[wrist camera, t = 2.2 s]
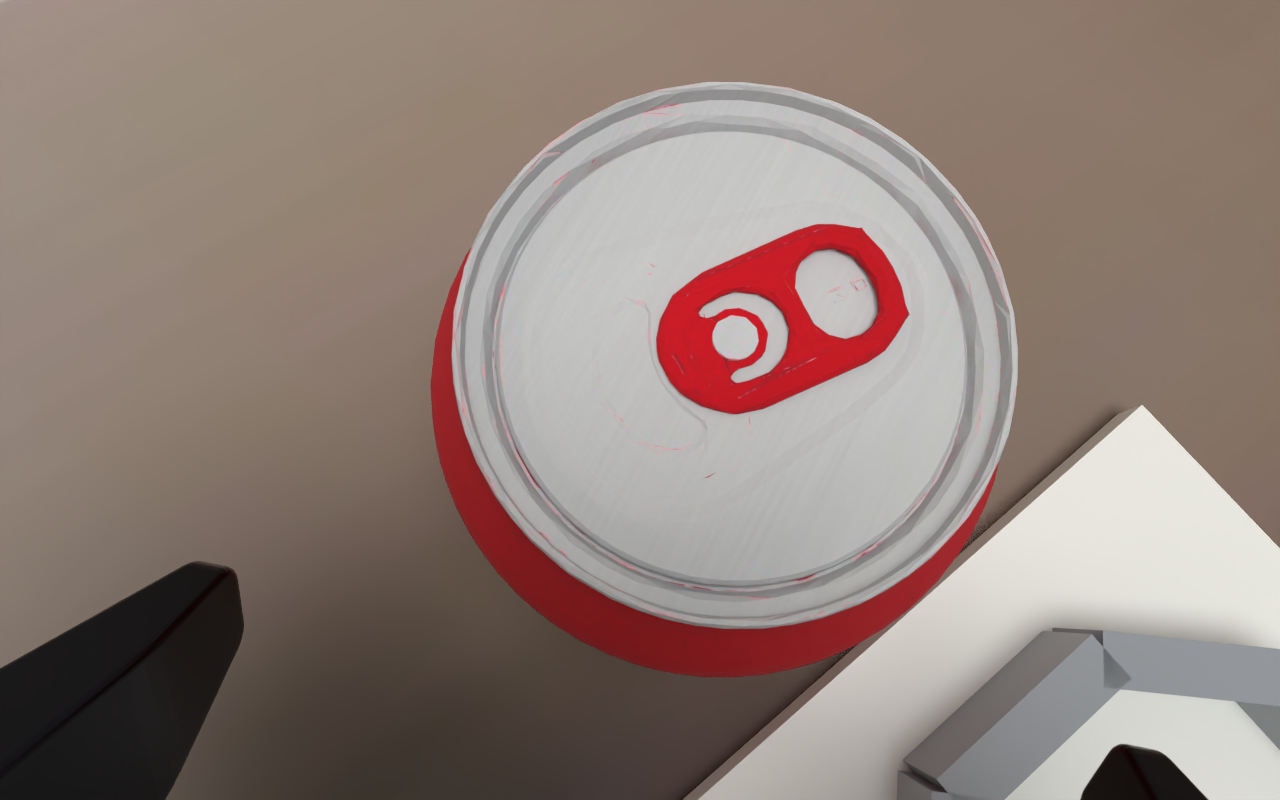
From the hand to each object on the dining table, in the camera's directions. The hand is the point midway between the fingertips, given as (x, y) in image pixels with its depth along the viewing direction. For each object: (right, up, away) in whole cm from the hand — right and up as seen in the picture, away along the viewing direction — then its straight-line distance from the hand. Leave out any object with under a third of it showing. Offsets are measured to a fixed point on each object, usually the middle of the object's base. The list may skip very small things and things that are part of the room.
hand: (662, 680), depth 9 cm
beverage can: (0, +1, +11) cm, 11 cm away
